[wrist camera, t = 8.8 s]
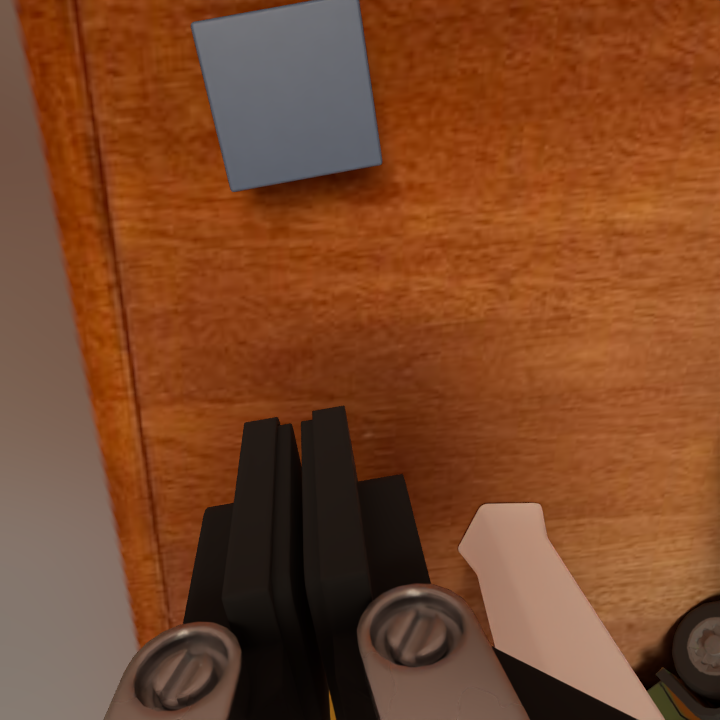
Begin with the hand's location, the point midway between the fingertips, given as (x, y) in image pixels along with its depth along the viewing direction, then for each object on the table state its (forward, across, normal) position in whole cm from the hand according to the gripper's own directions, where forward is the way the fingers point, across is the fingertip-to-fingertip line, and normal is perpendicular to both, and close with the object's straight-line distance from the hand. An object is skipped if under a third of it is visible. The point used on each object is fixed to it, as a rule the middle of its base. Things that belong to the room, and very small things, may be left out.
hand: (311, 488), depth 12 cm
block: (+12, -1, -6) cm, 14 cm away
